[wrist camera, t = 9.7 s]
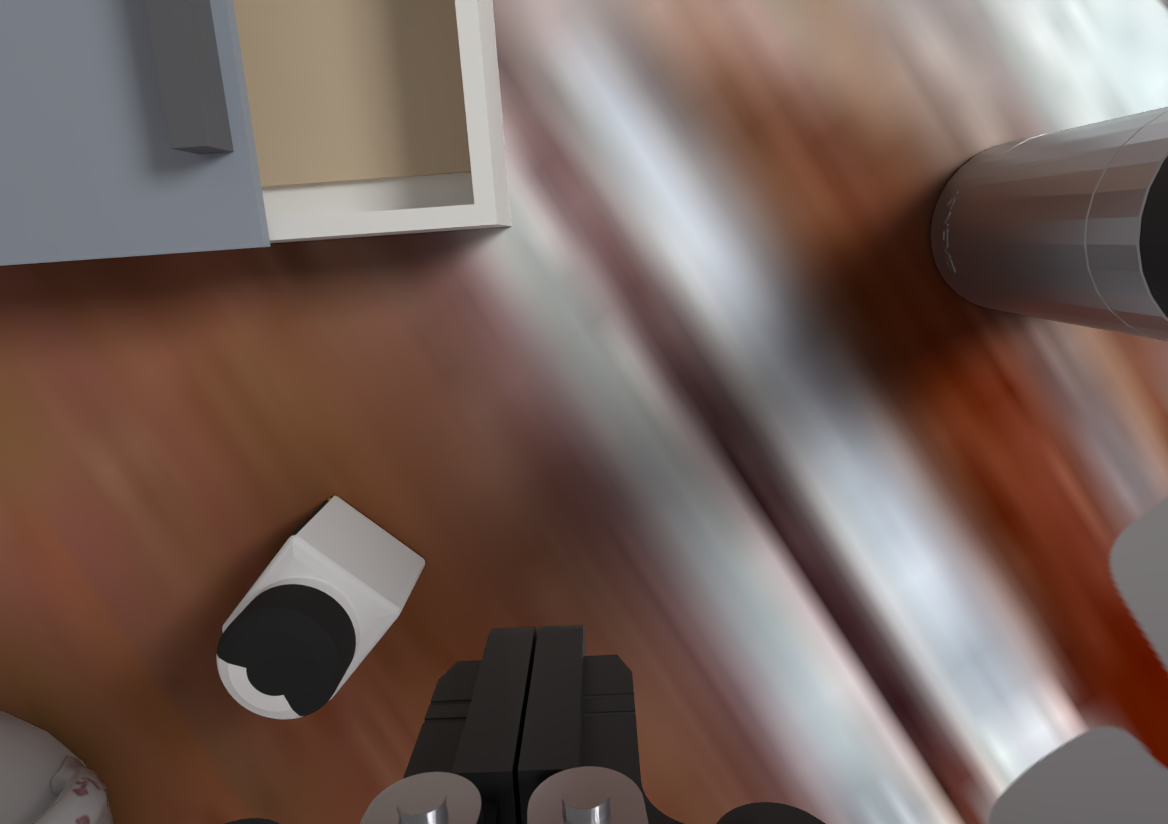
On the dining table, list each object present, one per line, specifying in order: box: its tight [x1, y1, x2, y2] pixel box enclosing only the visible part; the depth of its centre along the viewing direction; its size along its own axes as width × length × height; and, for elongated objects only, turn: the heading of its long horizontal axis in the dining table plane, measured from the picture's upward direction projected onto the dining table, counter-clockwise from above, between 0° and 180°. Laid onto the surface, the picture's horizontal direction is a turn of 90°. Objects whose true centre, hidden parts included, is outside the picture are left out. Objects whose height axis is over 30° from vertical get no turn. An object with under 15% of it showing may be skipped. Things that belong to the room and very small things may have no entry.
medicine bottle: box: [217, 496, 425, 719], centre depth 43 cm, size 7×7×12 cm
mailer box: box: [233, 0, 512, 243], centre depth 39 cm, size 20×18×7 cm
